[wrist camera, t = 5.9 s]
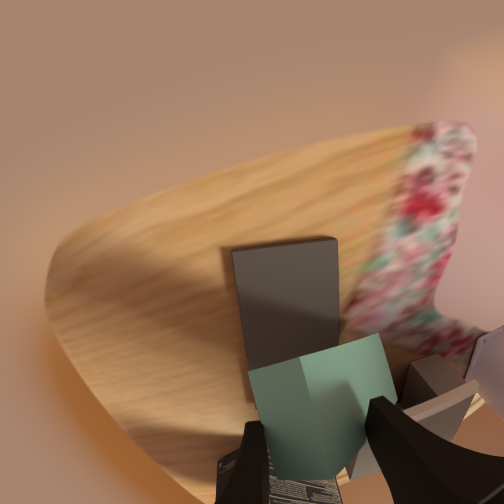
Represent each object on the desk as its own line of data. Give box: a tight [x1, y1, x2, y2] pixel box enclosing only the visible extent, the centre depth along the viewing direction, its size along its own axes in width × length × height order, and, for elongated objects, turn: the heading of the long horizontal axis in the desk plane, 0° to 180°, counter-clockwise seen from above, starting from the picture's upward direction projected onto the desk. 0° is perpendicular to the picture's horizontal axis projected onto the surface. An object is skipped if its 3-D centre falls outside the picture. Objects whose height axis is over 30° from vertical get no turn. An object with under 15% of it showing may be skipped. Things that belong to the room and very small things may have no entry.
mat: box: [232, 238, 339, 409], centre depth 17 cm, size 6×12×1 cm, turn 7°
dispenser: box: [345, 353, 480, 481], centre depth 16 cm, size 10×7×6 cm
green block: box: [247, 333, 398, 480], centre depth 12 cm, size 2×10×5 cm
